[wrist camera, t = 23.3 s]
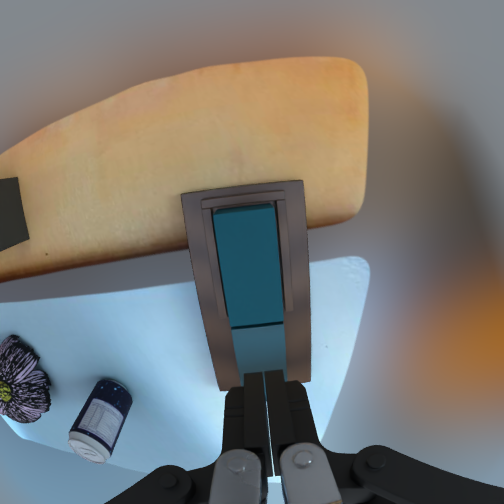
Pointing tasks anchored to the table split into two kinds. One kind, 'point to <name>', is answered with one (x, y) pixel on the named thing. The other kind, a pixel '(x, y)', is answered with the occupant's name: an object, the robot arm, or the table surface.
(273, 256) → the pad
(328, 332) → the table surface
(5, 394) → the decorative flower
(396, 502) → the robot arm
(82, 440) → the beverage can
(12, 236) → the pad stand
